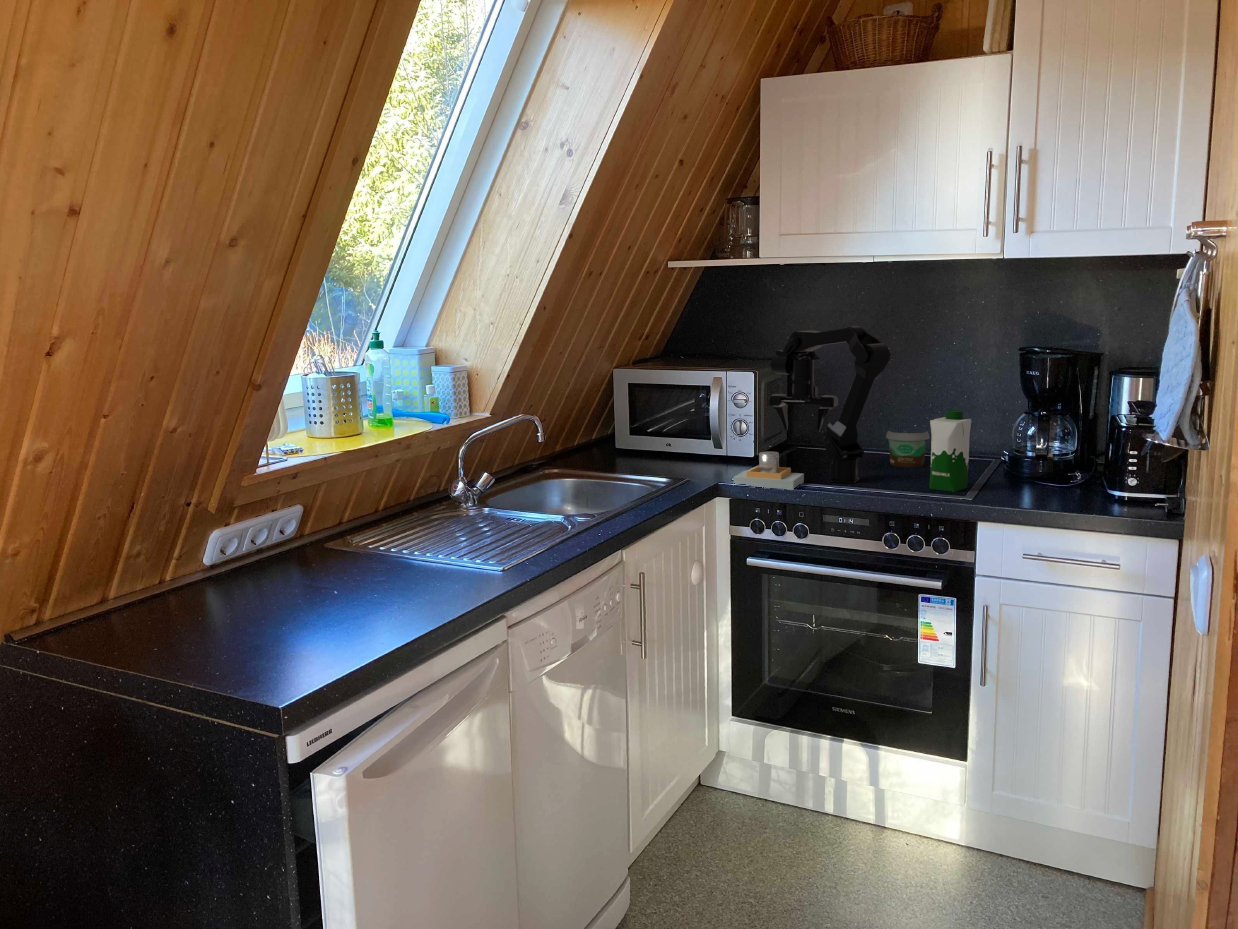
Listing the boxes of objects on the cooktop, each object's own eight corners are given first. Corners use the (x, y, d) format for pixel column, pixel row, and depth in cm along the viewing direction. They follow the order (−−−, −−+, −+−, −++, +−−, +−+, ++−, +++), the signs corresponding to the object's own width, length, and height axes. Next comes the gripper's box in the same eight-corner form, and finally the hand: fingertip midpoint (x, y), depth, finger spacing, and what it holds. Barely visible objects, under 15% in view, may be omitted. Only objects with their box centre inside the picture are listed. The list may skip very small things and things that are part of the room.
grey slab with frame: (803, 482, 271) (803, 468, 271) (793, 490, 262) (793, 475, 261) (745, 478, 278) (745, 464, 278) (733, 486, 269) (733, 471, 268)
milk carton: (972, 487, 260) (975, 411, 257) (955, 493, 254) (958, 414, 250) (940, 483, 266) (943, 408, 263) (923, 489, 260) (926, 412, 256)
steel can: (781, 473, 271) (781, 451, 270) (775, 477, 266) (775, 455, 265) (762, 472, 273) (762, 451, 272) (756, 476, 269) (756, 454, 268)
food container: (886, 467, 290) (887, 433, 289) (885, 464, 296) (886, 430, 294) (931, 468, 288) (932, 433, 286) (928, 464, 294) (929, 430, 292)
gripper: (843, 373, 284) (842, 428, 287) (779, 372, 292) (778, 426, 294) (833, 377, 274) (832, 434, 277) (767, 376, 282) (767, 431, 285)
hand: (802, 431), depth 283 cm, fingers open, 9 cm apart
